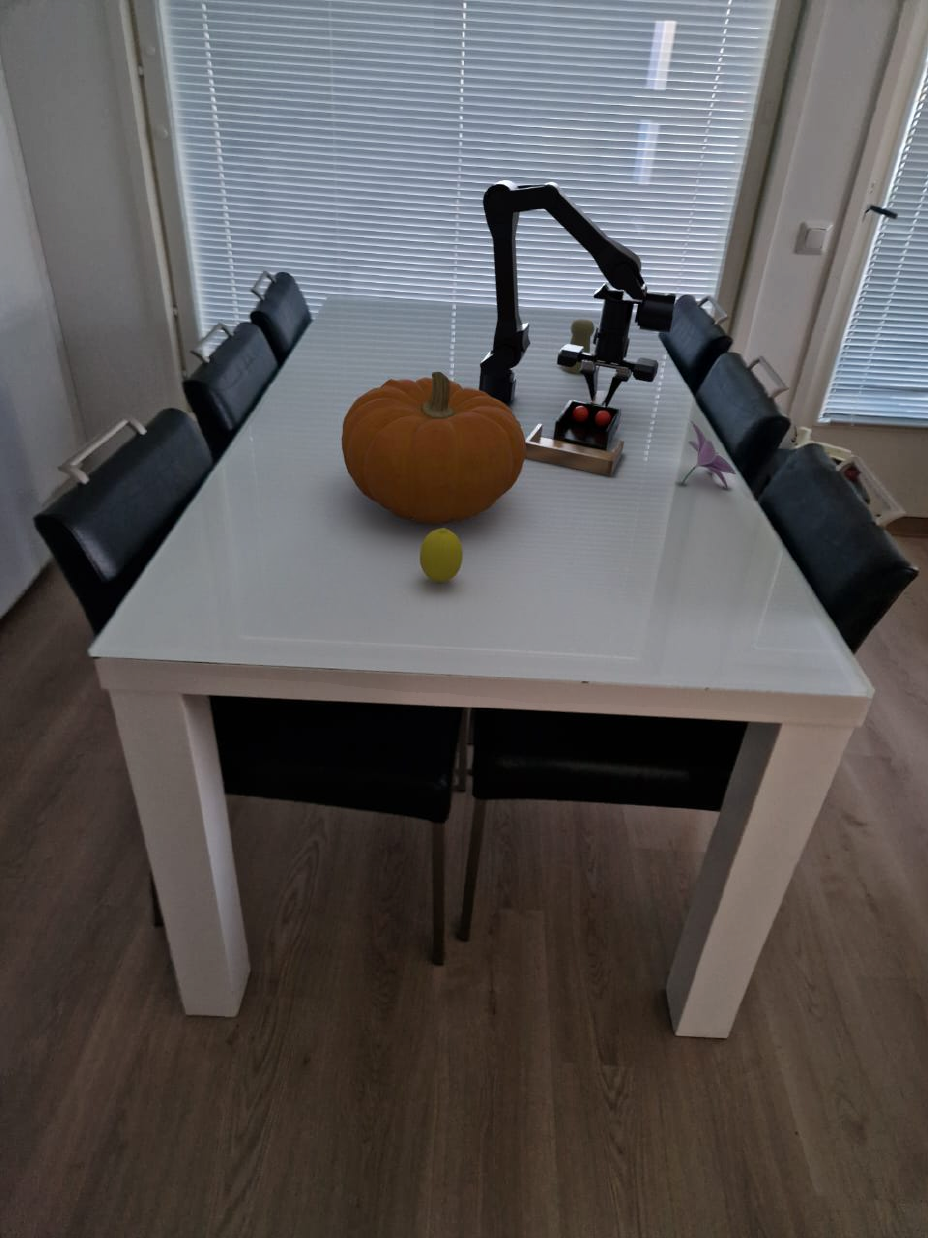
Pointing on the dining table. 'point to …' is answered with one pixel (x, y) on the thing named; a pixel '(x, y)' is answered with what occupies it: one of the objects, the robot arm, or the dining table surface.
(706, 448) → the lily
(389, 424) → the pumpkin
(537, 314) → the dining table surface
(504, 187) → the robot arm
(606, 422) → the tomato
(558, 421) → the pan
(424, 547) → the lemon
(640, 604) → the dining table surface
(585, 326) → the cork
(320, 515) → the dining table surface
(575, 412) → the tomato
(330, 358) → the dining table surface
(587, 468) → the tray
